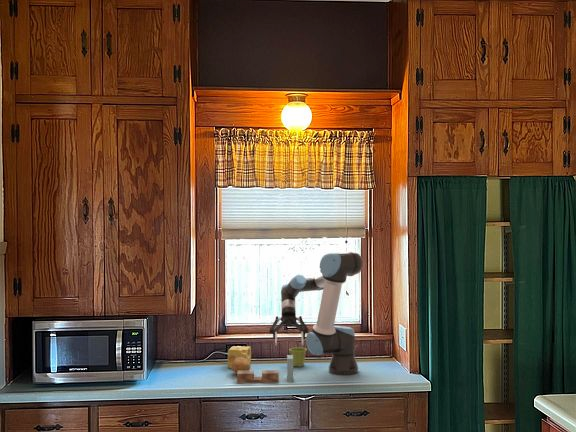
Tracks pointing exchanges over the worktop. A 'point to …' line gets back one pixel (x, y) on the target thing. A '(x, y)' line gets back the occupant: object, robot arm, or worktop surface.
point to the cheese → (238, 354)
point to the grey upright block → (290, 367)
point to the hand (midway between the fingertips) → (289, 344)
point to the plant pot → (298, 356)
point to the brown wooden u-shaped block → (267, 377)
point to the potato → (240, 365)
